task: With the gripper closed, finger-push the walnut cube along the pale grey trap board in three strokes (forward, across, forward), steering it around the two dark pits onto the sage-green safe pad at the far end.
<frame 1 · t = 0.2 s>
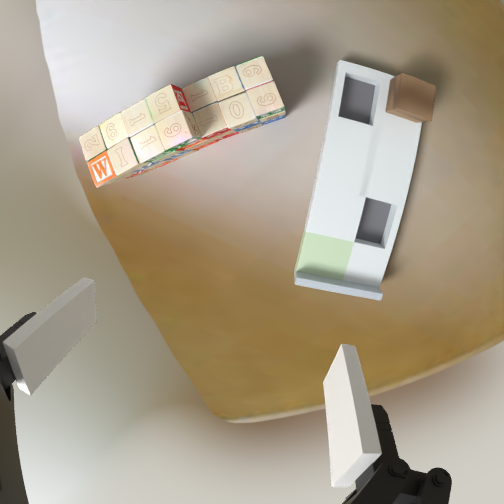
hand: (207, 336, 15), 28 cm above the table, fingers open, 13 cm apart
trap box: (361, 178, 37), on the table
walnut block: (403, 101, 31), point 2 cm above the table, touching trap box
stack of blocks: (201, 125, 38), on the table
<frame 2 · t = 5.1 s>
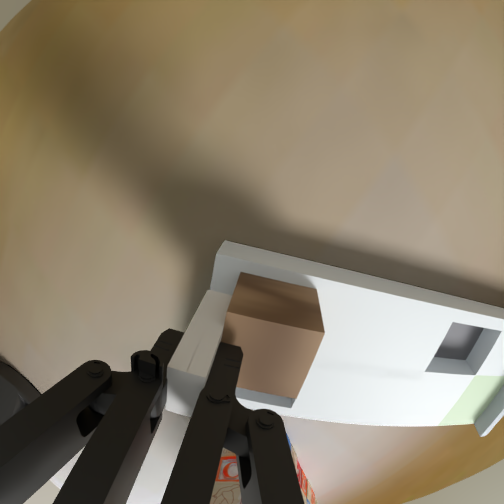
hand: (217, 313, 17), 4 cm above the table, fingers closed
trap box: (392, 354, 21), on the table
walnut block: (270, 313, 18), point 3 cm above the table, touching gripper, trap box
stack of blocks: (279, 474, 29), on the table
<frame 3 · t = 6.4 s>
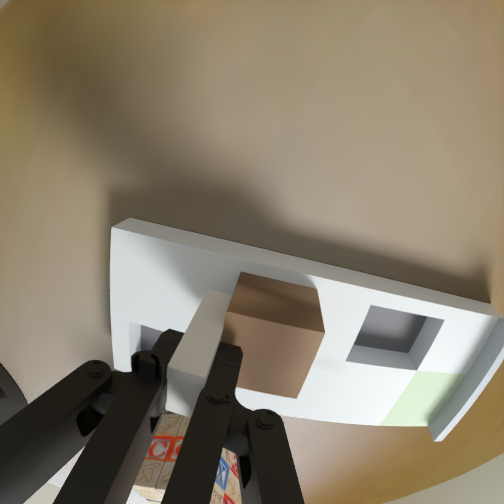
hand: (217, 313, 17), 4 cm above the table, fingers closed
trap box: (312, 340, 21), on the table
walnut block: (270, 313, 18), point 2 cm above the table, touching gripper, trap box
stack of blocks: (224, 464, 29), on the table
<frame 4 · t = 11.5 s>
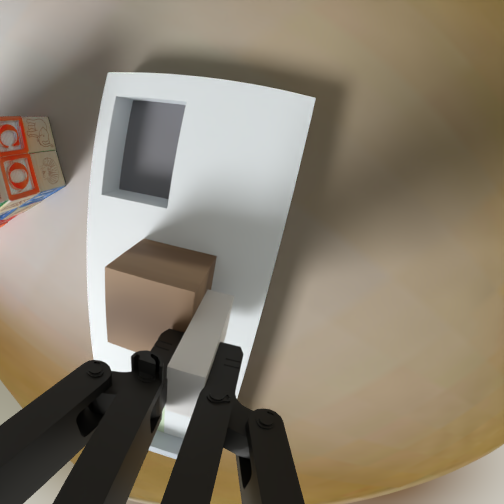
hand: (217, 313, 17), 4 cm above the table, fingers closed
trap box: (175, 298, 21), on the table
walnut block: (174, 281, 18), point 3 cm above the table, touching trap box
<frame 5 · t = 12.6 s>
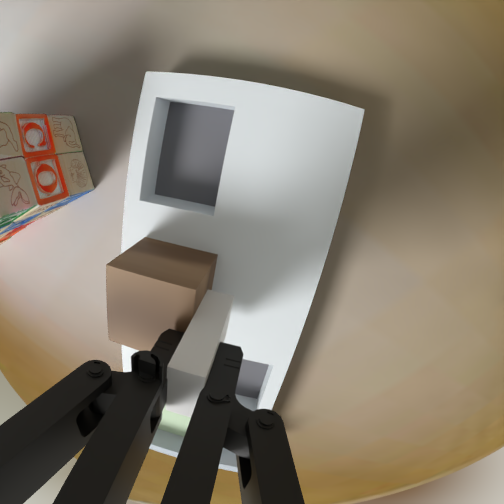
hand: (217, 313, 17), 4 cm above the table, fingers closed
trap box: (212, 305, 21), on the table
walnut block: (176, 279, 18), point 2 cm above the table, touching gripper, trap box
stack of blocks: (11, 200, 21), on the table
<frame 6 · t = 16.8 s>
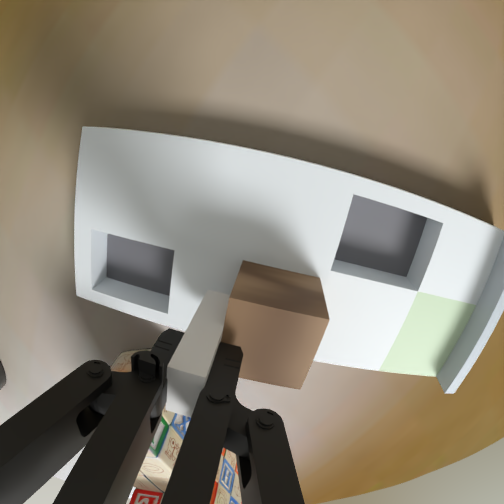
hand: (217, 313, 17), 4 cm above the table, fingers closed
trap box: (293, 255, 19), on the table
walnut block: (272, 303, 18), point 3 cm above the table, touching gripper
stack of blocks: (196, 425, 27), on the table
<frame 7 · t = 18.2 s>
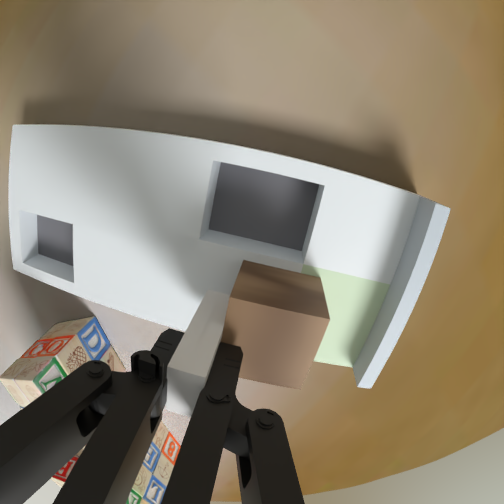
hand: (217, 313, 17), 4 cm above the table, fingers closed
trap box: (179, 228, 20), on the table
walnut block: (273, 302, 18), point 3 cm above the table
stack of blocks: (127, 402, 27), on the table
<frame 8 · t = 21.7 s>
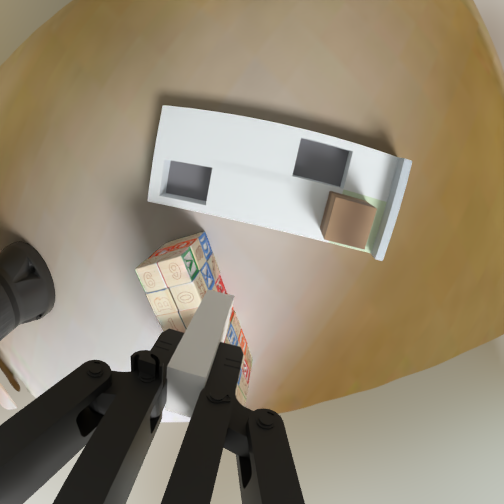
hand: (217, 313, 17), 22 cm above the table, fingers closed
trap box: (274, 174, 36), on the table
walnut block: (343, 214, 34), point 2 cm above the table, touching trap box
stack of blocks: (211, 305, 43), on the table
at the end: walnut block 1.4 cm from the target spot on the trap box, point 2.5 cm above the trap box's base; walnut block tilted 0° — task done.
